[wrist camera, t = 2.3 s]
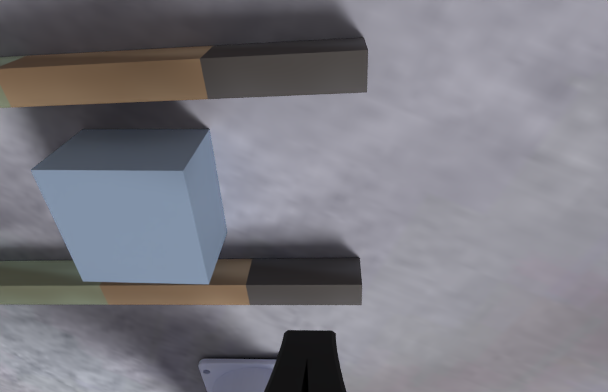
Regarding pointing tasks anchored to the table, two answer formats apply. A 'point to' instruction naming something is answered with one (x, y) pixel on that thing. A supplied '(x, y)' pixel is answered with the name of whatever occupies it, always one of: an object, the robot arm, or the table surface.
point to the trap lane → (188, 86)
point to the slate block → (137, 204)
